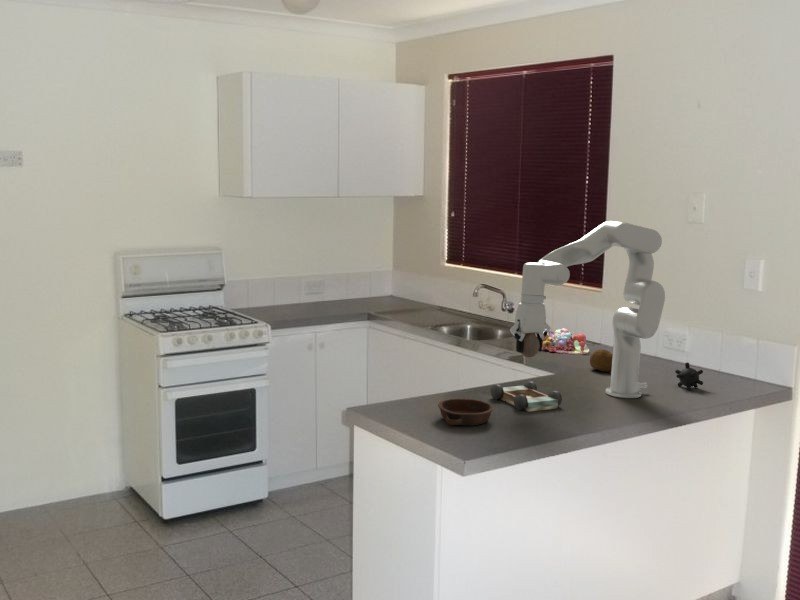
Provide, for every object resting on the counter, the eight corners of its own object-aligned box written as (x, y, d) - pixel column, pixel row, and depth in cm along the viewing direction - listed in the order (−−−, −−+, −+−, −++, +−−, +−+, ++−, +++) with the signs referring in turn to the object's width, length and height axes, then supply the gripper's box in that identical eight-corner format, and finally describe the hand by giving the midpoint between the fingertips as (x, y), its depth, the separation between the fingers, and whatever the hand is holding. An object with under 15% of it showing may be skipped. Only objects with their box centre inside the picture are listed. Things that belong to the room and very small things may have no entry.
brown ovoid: (523, 353, 300) (524, 328, 298) (542, 356, 296) (543, 330, 295) (515, 356, 294) (516, 330, 293) (534, 359, 290) (535, 333, 289)
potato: (611, 375, 343) (613, 353, 342) (584, 370, 351) (586, 348, 349) (621, 372, 349) (623, 351, 348) (594, 367, 357) (596, 346, 356)
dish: (423, 423, 268) (424, 408, 267) (456, 408, 287) (456, 393, 286) (475, 434, 260) (475, 418, 259) (504, 417, 278) (505, 402, 278)
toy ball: (694, 386, 317) (667, 373, 324) (696, 400, 325) (669, 387, 332) (709, 366, 320) (681, 353, 327) (710, 381, 328) (683, 368, 335)
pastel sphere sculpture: (536, 353, 382) (537, 332, 380) (530, 342, 405) (531, 323, 404) (593, 355, 381) (595, 335, 379) (584, 345, 404) (585, 325, 403)
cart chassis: (527, 393, 310) (528, 379, 309) (562, 407, 292) (563, 393, 291) (489, 397, 302) (490, 383, 302) (523, 412, 285) (524, 397, 284)
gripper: (546, 297, 299) (543, 347, 302) (504, 298, 291) (501, 350, 294) (559, 300, 293) (556, 352, 296) (517, 302, 285) (514, 355, 288)
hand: (528, 351), depth 295 cm, fingers closed on brown ovoid, 7 cm apart
